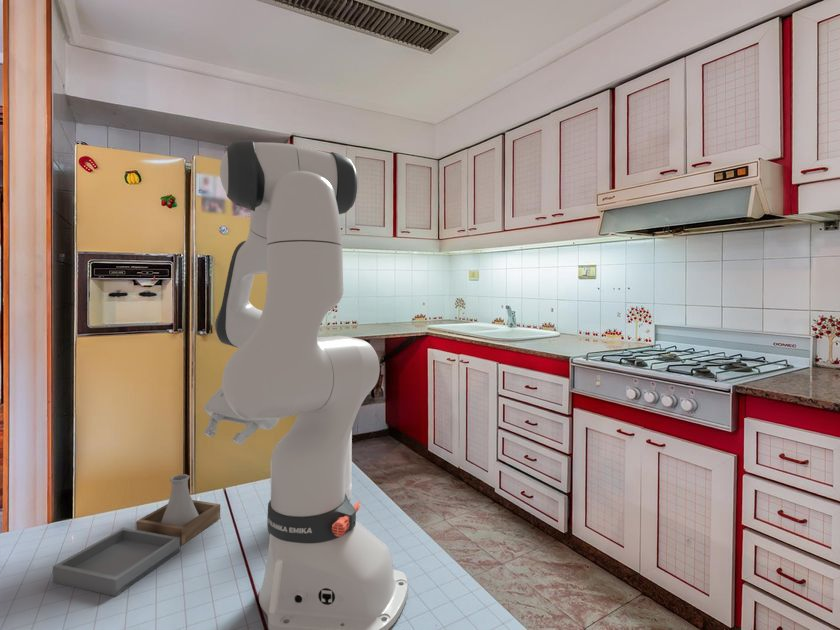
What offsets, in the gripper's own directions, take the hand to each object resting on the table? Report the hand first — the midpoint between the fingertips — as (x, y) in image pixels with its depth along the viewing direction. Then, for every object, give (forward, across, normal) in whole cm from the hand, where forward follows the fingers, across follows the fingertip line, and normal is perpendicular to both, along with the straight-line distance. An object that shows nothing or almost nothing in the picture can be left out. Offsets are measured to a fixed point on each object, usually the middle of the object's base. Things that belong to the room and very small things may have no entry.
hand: (221, 438), depth 95 cm
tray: (+26, +3, -5) cm, 27 cm away
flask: (+17, 0, +4) cm, 18 cm away
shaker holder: (+17, 0, +4) cm, 18 cm away
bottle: (-1, +17, +22) cm, 28 cm away
